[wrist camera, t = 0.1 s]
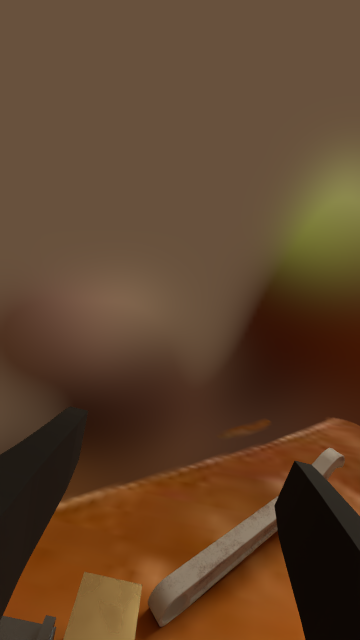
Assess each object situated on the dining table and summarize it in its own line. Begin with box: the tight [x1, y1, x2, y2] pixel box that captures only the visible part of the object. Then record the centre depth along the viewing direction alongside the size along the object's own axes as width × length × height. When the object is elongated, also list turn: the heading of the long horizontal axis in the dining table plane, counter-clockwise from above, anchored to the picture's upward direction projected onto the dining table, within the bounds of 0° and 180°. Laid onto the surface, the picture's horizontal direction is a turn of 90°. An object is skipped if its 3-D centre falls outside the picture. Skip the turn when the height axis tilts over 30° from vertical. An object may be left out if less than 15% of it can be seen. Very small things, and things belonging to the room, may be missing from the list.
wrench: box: [148, 448, 345, 627], centre depth 34 cm, size 8×2×30 cm
